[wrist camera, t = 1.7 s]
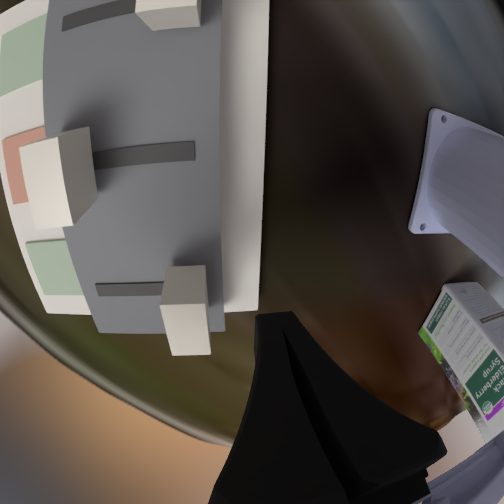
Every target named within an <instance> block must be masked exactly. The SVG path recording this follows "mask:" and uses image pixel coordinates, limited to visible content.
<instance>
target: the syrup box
mask: <svg viewBox="0 0 504 504" xmlns="http://www.w3.org/2000/svg"><path fill="white" fill-rule="evenodd" d="M419 335H420V336H421V338H422V339H423V341H424V342H425V343H426V345H427V346H428V348H429V349H430V351H431V352H432V354H433V355H434V357H435V358H436V360H437V361H438V363H439V364H440V366H441V367H442V369H443V370H444V372H445V373H446V375H447V377H448V378H449V380H450V381H451V383H452V384H453V386H454V388H455V390H456V391H457V393H458V394H459V396H460V398H461V399H462V401H463V403H464V405H465V406H466V408H467V410H468V411H469V413H470V415H471V416H472V418H473V420H474V422H475V424H476V426H477V428H478V429H479V431H480V433H481V435H482V437H483V439H484V441H485V443H486V444H487V443H488V442H489V441H490V440H492V439H493V438H494V437H495V436H497V435H498V434H499V433H500V432H502V431H503V430H504V309H503V308H502V307H501V306H500V305H499V304H498V303H497V302H496V301H495V299H494V298H493V297H492V296H491V295H490V294H489V293H488V292H487V291H486V290H485V289H484V288H483V287H482V286H481V285H480V284H479V283H478V282H461V283H449V284H444V285H443V287H442V289H441V293H440V295H439V297H438V299H437V301H436V303H435V305H434V306H433V308H432V310H431V312H430V314H429V315H428V317H427V319H426V320H425V322H424V324H423V325H422V327H421V328H420V330H419Z"/></svg>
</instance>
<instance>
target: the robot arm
mask: <svg viewBox="0 0 504 504" xmlns="http://www.w3.org/2000/svg"><path fill="white" fill-rule="evenodd" d="M441 117H443V119H442V121H441ZM421 225H422V226H421ZM420 226H421V227H420ZM409 230H410V231H411V232H412V233H414V234H427V233H451V234H453V235H454V236H455V237H456V238H457V239H459V240H460V241H461V242H462V243H464V244H465V245H466V246H467V247H468V248H470V249H471V250H472V251H473V252H474V253H475V254H477V255H478V256H479V257H480V258H481V259H482V260H483V261H484V262H486V263H487V264H488V265H489V266H490V267H491V268H492V269H493V270H494V271H495V272H496V273H498V274H499V275H500V276H501V277H502V278H503V279H504V136H502V135H500V134H498V133H496V132H494V131H492V130H489V129H487V128H485V127H483V126H481V125H478V124H476V123H474V122H471V121H469V120H466V119H464V118H462V117H459V116H456V115H454V114H451V113H448V112H446V111H443V110H440V109H436V108H433V109H431V110H430V112H429V118H428V127H427V135H426V142H425V149H424V155H423V161H422V167H421V172H420V178H419V183H418V187H417V192H416V197H415V201H414V205H413V210H412V214H411V218H410V222H409ZM254 353H255V370H254V376H253V381H252V386H251V390H250V394H249V398H248V402H247V405H246V409H245V412H244V415H243V418H242V422H241V425H240V428H239V430H238V433H237V436H236V438H235V441H234V443H233V446H232V448H231V451H230V453H229V456H228V458H227V460H226V462H225V465H224V467H223V469H222V471H221V473H220V475H219V477H218V479H217V481H216V483H215V485H214V488H213V491H212V494H211V497H210V499H209V502H208V504H418V503H420V502H422V501H423V502H422V504H497V503H498V502H499V501H500V499H501V498H502V497H503V496H504V430H503V431H502V432H500V433H499V434H498V435H497V436H495V437H494V438H493V439H492V440H490V441H489V442H488V443H487V444H485V445H484V446H483V447H481V448H480V449H479V450H477V451H476V452H475V453H474V454H473V455H471V456H470V457H468V458H467V459H466V460H464V461H463V462H461V463H460V464H458V465H457V466H455V467H453V468H452V469H450V470H449V471H447V472H446V473H444V474H442V475H441V476H439V477H437V478H435V479H434V480H432V481H430V482H428V483H427V482H426V480H425V478H426V477H427V476H428V472H427V470H426V468H427V467H429V466H430V465H432V464H434V463H435V462H437V461H438V460H439V459H441V458H442V457H444V456H445V455H446V454H447V449H446V447H445V445H444V443H443V440H442V438H441V437H440V435H439V433H438V432H437V431H436V430H434V429H431V428H429V427H427V426H425V425H422V424H420V423H418V422H416V421H414V420H412V419H410V418H408V417H406V416H404V415H403V414H401V413H399V412H397V411H396V410H394V409H393V408H391V407H389V406H388V405H386V404H385V403H383V402H382V401H380V400H379V399H377V398H376V397H374V396H373V395H372V394H371V393H369V392H368V391H367V390H365V389H364V388H363V387H362V386H360V385H359V384H358V383H357V382H356V381H354V380H353V379H352V378H351V377H350V376H349V375H348V374H347V373H346V372H344V371H343V370H342V369H341V368H340V367H339V366H338V365H337V364H336V363H335V362H334V361H333V360H332V359H331V357H330V356H329V355H328V354H327V353H326V352H325V351H324V350H323V349H322V348H321V346H320V345H319V344H318V343H317V342H316V341H315V340H314V338H313V337H312V336H311V335H310V334H309V332H308V331H307V330H306V329H305V327H304V326H303V325H302V323H301V322H300V321H299V319H298V318H297V317H296V315H295V314H294V313H293V312H292V311H289V312H278V313H267V314H258V315H257V316H256V317H255V338H254Z"/></svg>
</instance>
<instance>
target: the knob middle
mask: <svg viewBox="0 0 504 504" xmlns="http://www.w3.org/2000/svg"><path fill="white" fill-rule="evenodd" d="M19 152H20V159H21V165H22V171H23V177H24V182H25V187H26V192H27V196H28V200H29V205H30V209H31V213H32V217H33V220H34V224H35V228H36V230H37V229H46V228H55V227H65V226H73V225H74V224H75V223H76V222H77V221H78V220H79V219H80V218H81V216H82V215H83V214H84V213H85V212H86V211H87V210H88V209H89V208H90V207H91V206H92V205H93V203H94V202H95V201H96V200H97V199H98V193H97V186H96V180H95V173H94V166H93V158H92V149H91V139H90V127H89V126H88V127H83V128H78V129H74V130H69V131H65V132H61V133H57V134H53V135H50V136H48V137H45V138H42V139H39V140H37V141H34V142H32V143H29V144H27V145H24V146H22V147H19Z"/></svg>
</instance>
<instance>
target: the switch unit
mask: <svg viewBox="0 0 504 504" xmlns="http://www.w3.org/2000/svg"><path fill="white" fill-rule="evenodd" d="M135 7H136V0H25V1H23V2H21V3H20V4H18V5H16V6H14V7H12V8H10V9H9V10H7V11H5V12H4V13H2V14H0V173H1V178H2V183H3V188H4V192H5V197H6V201H7V205H8V209H9V213H10V217H11V220H12V224H13V227H14V230H15V234H16V237H17V240H18V243H19V246H20V249H21V252H22V255H23V257H24V260H25V263H26V265H27V268H28V271H29V273H30V276H31V278H32V280H33V283H34V285H35V288H36V290H37V292H38V294H39V297H40V299H41V301H42V303H43V305H44V307H45V309H46V312H47V313H57V314H85V315H92V317H93V319H94V321H95V324H96V326H97V328H98V331H99V333H139V334H153V333H166V330H165V326H164V322H163V318H162V313H161V309H160V300H161V295H162V289H163V284H164V279H165V274H166V270H167V267H173V266H196V265H205V268H206V281H207V293H208V304H209V314H210V332H220V331H225V318H224V312H237V311H253V310H258V294H259V273H260V252H261V230H262V206H263V182H264V156H265V129H266V100H267V68H268V32H269V0H201V19H200V27H185V28H173V29H164V30H156V31H152V30H151V29H150V28H149V27H148V26H147V25H146V24H145V22H144V21H143V20H142V19H141V18H140V17H139V16H138V15H137V14H136V13H135ZM88 126H89V127H90V139H91V149H92V158H93V166H94V173H95V180H96V186H97V193H98V199H97V200H96V201H95V202H94V203H93V205H92V206H91V207H90V208H89V209H88V210H87V211H86V212H85V213H84V214H83V215H82V216H81V218H80V219H79V220H78V221H77V222H76V223H75V224H74V225H73V226H65V227H55V228H46V229H37V230H36V228H35V224H34V220H33V217H32V213H31V209H30V205H29V200H28V196H27V192H26V187H25V182H24V177H23V171H22V165H21V159H20V152H19V147H22V146H24V145H27V144H29V143H32V142H34V141H37V140H39V139H42V138H45V137H48V136H50V135H53V134H57V133H61V132H65V131H69V130H74V129H78V128H83V127H88Z"/></svg>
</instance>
